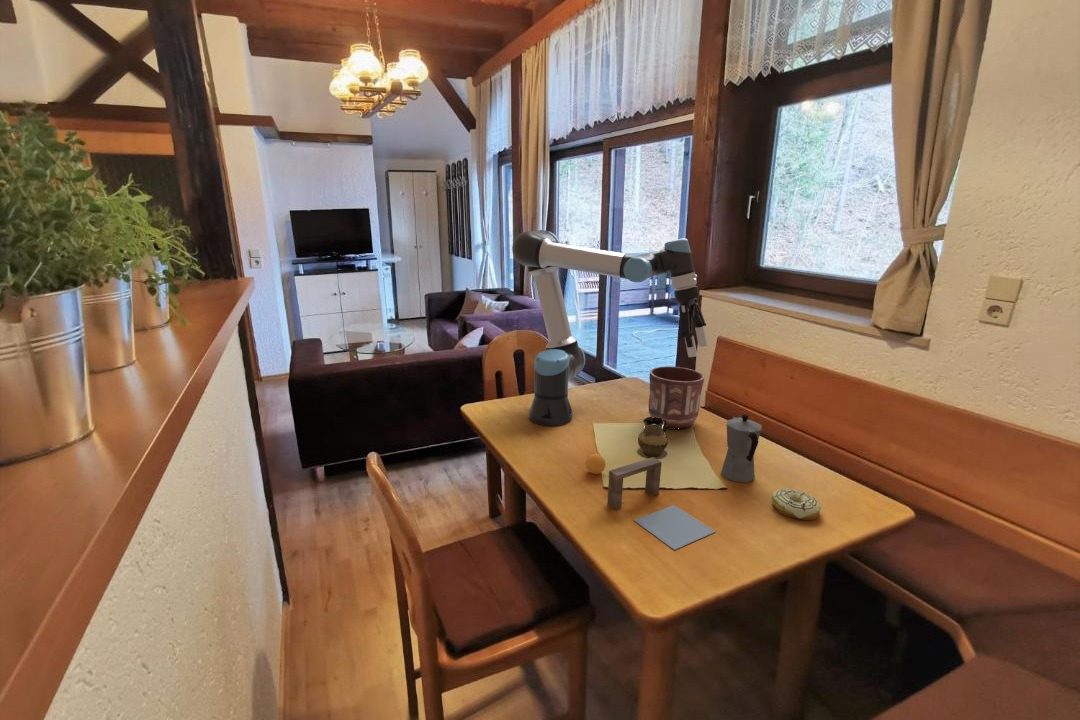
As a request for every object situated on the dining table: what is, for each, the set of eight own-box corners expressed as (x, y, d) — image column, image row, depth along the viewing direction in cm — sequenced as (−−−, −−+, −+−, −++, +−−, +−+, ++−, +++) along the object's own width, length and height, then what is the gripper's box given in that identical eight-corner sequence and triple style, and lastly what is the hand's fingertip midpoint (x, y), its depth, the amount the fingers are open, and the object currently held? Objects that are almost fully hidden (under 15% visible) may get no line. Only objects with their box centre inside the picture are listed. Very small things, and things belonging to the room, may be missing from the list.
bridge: (607, 503, 130) (609, 470, 128) (650, 488, 138) (653, 457, 135) (615, 509, 128) (617, 475, 125) (658, 494, 135) (661, 461, 133)
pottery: (658, 435, 171) (663, 382, 166) (638, 415, 187) (642, 367, 182) (708, 431, 174) (714, 380, 169) (683, 412, 191) (688, 365, 186)
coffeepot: (713, 463, 152) (719, 405, 147) (745, 464, 152) (753, 406, 147) (731, 490, 137) (739, 427, 132) (767, 491, 137) (776, 427, 132)
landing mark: (633, 520, 123) (634, 520, 123) (673, 505, 130) (673, 504, 130) (674, 550, 113) (674, 549, 113) (715, 532, 119) (715, 531, 119)
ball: (581, 470, 147) (581, 453, 145) (596, 466, 149) (597, 448, 148) (593, 479, 142) (594, 460, 141) (609, 474, 145) (610, 456, 143)
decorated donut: (803, 528, 122) (806, 513, 121) (762, 507, 130) (764, 493, 129) (827, 514, 127) (829, 500, 126) (786, 494, 136) (788, 481, 135)
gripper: (686, 291, 155) (700, 359, 159) (706, 279, 176) (718, 340, 179) (662, 296, 159) (676, 362, 163) (684, 284, 180) (696, 343, 183)
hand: (698, 351), depth 171 cm, fingers open, 13 cm apart
